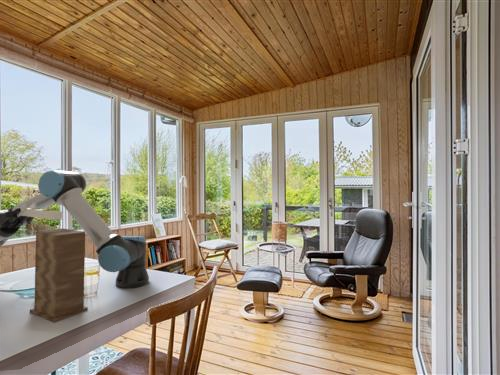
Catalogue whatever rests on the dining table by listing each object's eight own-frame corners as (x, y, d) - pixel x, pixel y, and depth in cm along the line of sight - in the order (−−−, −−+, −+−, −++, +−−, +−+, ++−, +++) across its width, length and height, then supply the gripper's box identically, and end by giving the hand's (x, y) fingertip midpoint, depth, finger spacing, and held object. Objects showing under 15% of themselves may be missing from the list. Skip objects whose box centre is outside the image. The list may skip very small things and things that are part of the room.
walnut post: (29, 312, 108) (31, 231, 108) (63, 301, 119) (64, 228, 119) (54, 322, 101) (56, 236, 101) (87, 310, 112) (89, 231, 111)
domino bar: (15, 214, 123) (15, 207, 123) (24, 214, 125) (24, 206, 125) (53, 219, 109) (53, 211, 109) (62, 219, 112) (62, 210, 112)
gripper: (28, 234, 136) (53, 212, 126) (-16, 240, 122) (9, 215, 112) (24, 220, 137) (49, 197, 128) (-20, 223, 123) (4, 198, 114)
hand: (30, 205), depth 120 cm, fingers closed on domino bar, 3 cm apart
